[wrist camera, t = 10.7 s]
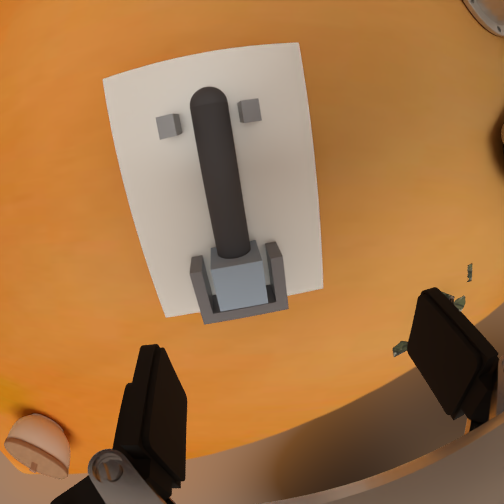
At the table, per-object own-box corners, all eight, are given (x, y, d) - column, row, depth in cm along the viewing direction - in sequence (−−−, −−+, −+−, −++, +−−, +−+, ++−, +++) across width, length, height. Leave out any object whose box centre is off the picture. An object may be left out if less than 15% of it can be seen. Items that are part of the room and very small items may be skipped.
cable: (181, 93, 21) (174, 89, 17) (231, 84, 21) (235, 78, 17) (219, 286, 28) (220, 311, 25) (261, 278, 29) (268, 303, 25)
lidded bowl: (15, 417, 38) (-1, 459, 29) (23, 394, 35) (2, 443, 25) (67, 448, 43) (58, 491, 33) (84, 430, 40) (73, 481, 30)
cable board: (108, 80, 21) (85, 74, 16) (294, 46, 21) (311, 32, 17) (167, 308, 31) (161, 341, 26) (318, 280, 31) (335, 308, 27)
